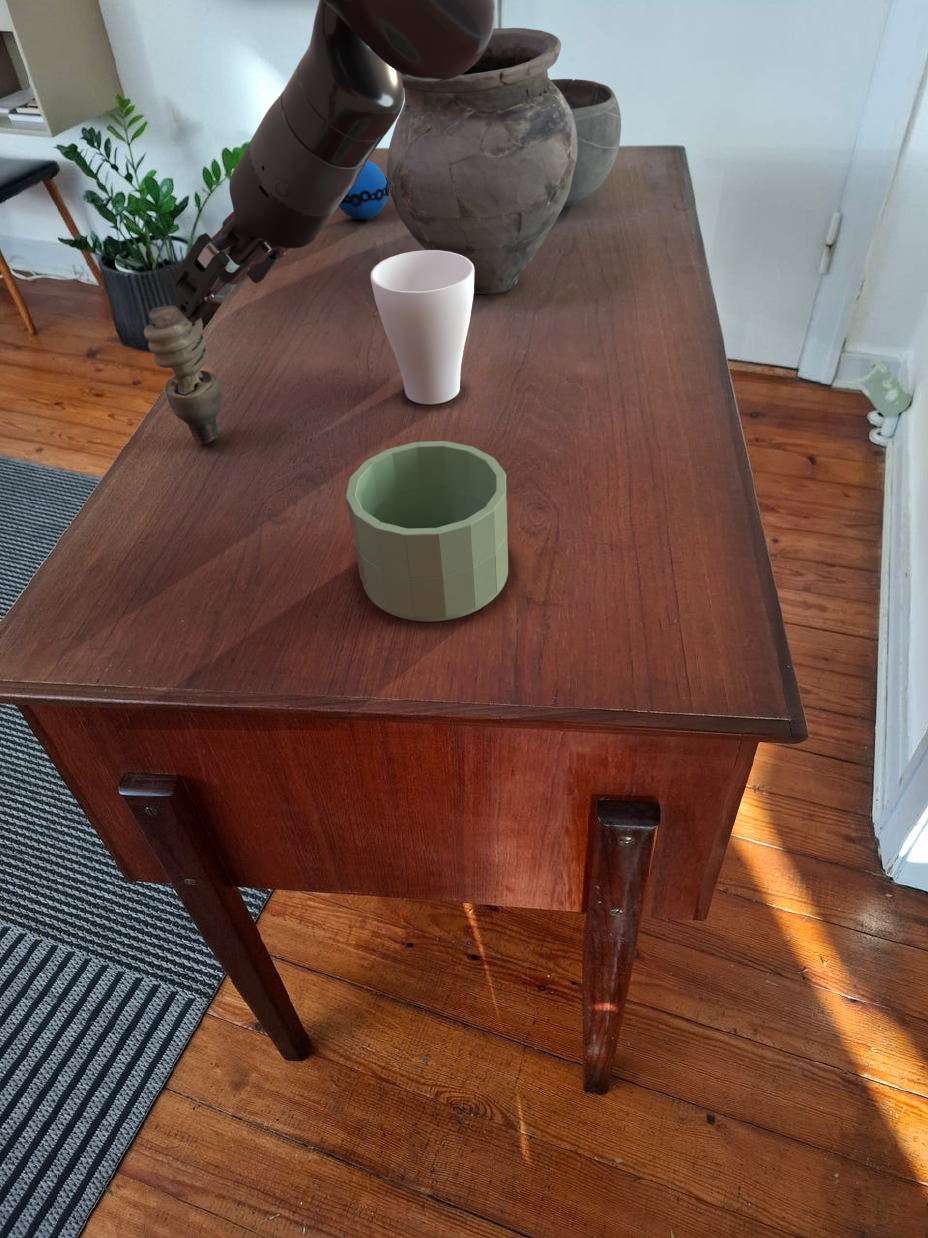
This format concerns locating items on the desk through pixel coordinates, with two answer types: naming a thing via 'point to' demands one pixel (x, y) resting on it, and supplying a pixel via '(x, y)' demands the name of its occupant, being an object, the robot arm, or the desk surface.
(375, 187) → the ornament
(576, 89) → the bowl
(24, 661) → the desk surface
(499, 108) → the clay pot
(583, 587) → the desk surface
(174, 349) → the light bulb
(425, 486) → the pot
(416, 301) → the cup
